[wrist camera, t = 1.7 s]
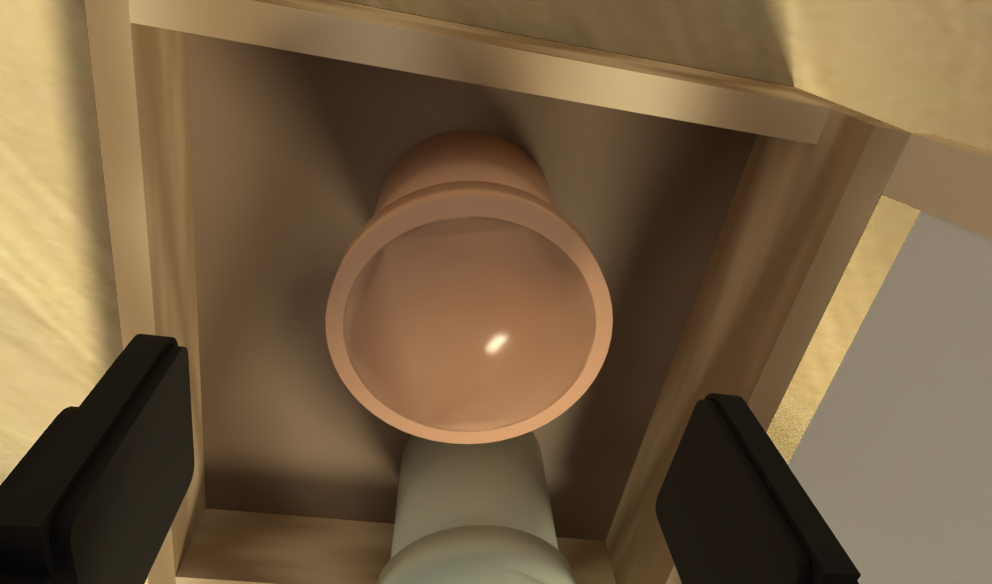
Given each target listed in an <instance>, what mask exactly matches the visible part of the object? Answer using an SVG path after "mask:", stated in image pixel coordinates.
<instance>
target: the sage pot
mask: <svg viewBox="0 0 992 584" xmlns="http://www.w3.org/2000/svg"><path fill="white" fill-rule="evenodd" d="M377 584H576V580H575V576H574V573H573V570H572V568H571V566H570V564H569V562H568V561H567V559H566V558H565V557H564V556H563V555H562V553H561V552H560V551H558V546H557V540H556V534H555V528H554V522H553V516H552V511H551V505H550V499H549V493H548V487H547V482H546V476H545V470H544V464H543V458H542V453H541V448H540V445H539V442H538V440H537V439H536V437H535V435H534V434H533V433H532V431H530V432H528V433H525V434H522V435H520V436H517V437H513V438H509V439H505V440H502V441H496V442H489V443H480V444H454V443H445V442H438V441H432V440H429V439H425V438H421V437H417V436H414V435H411V436H410V438H409V439H408V441H407V442H406V445H405V447H404V449H403V453H402V459H401V468H400V477H399V486H398V496H397V505H396V514H395V524H394V533H393V542H392V551H391V559H390V560H389V562H388V563H387V564H386V565H385V567H384V568H383V570H382V571H381V573H380V576H379V578H378V580H377Z"/></svg>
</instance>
